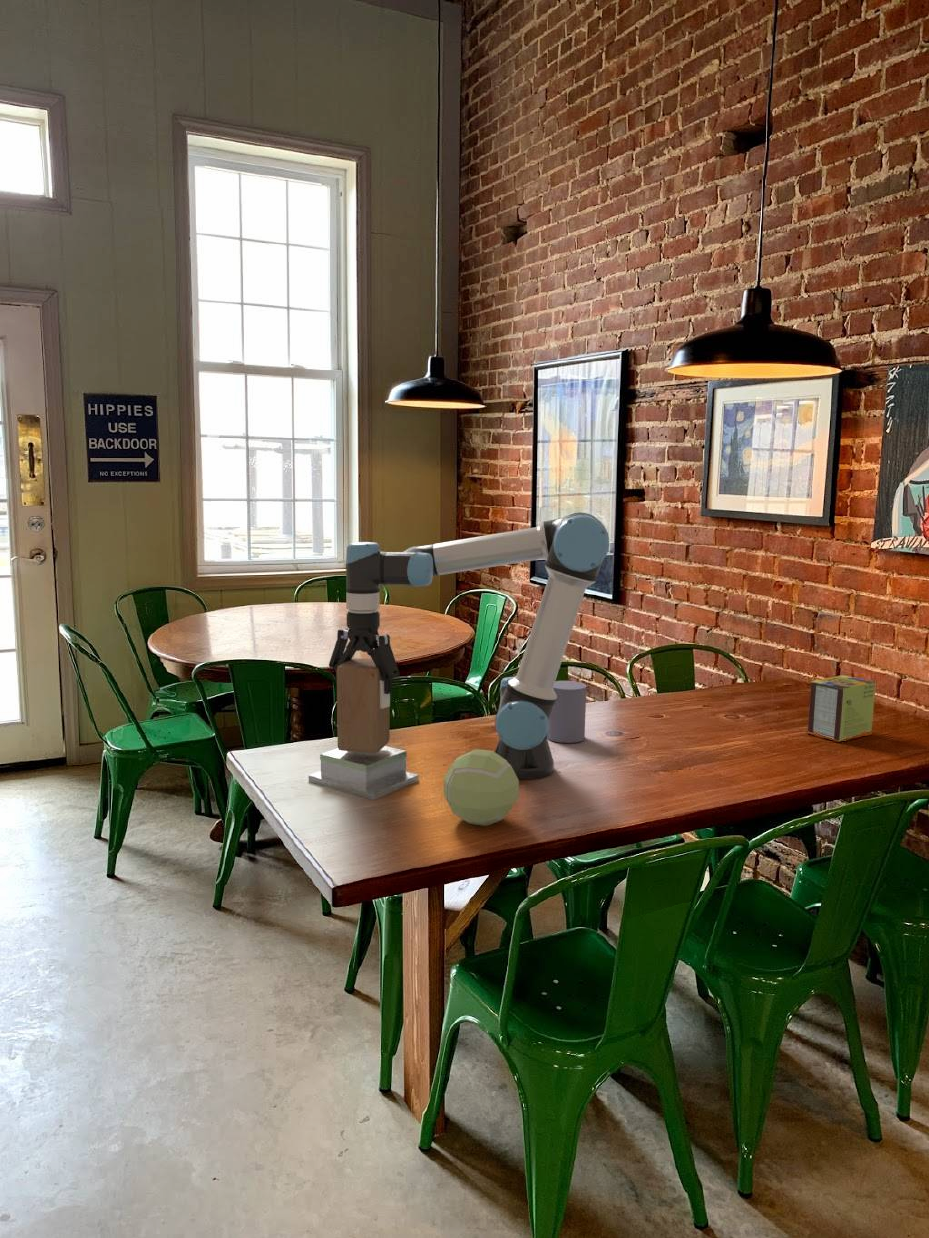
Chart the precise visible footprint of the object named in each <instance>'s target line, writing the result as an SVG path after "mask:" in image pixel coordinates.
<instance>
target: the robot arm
mask: <svg viewBox="0 0 929 1238" xmlns="http://www.w3.org/2000/svg"><path fill="white" fill-rule="evenodd" d="M609 549H610V537H609V533H608V531H607V528H606V526H605V525H604V524H603V522H601V520H600V519H598V518H597V517H595V516H594V515H592V514H590V513H587V512H573V513H570V514H567V515H565V516H563V517H557V518H555V519H552V520H546V521H545V520H544V521H542V522H540V524H539V526H536V527H529V528H523V529H517V530H511V531H504V532H499V533H494V534H493V533H492V534H488V535H486V534H485V535H480V536H475V537H467V538H463V539H456V540H450V541H444V542H439V543H434V544H433V543H432V544H426V545H421V546H420V545H415V546H410V547H407V548H406V549H405V550H404V551H395V552H394V551H393V552H392V551H389V552H388V551H383V550H382V551H381V548H380V544H379V543H378V542H374V541H373V542H371V541H357V542H356V541H355V542H350V543H349V544H348V545H347V546H346V554H345V556H346V557H345V558H346V560H345V571H346V572H345V574H346V575H345V579H346V593H345V594H346V597H345V598H346V601H345V602H346V606H345V608H346V610H348V611H346V628H342V629H338V630H337V633H336V634H337V637H336V642H335V644H334V648H333V650H332V653H331V657H330V659H329V662H328V667H329V668H332V669H334V672H335V683H336V685H337V668H338V666H340V665H341V664H343V663H345V662H346V661H348V660H350V659H352V658H354V655H355V654H356V653H357V652H363V653H367V655H368V656H370V658H371V659H372V660H373V662H374V664H375V665H376V667H378V668H379V670H380V675H381V676H382V679H381V680H380V708H381V709H383V708H386V707H389V706H390V707H391V694H392V693H393V679H396V678H399V677H400V675H401V674H400V671H399V668H398V665H397V662H396V657H395V655H394V653H393V650H392V647H391V639H390V638H391V637H390V635H389V634H388V633H387V634H383V635H382V634H380V633H379V631H378V630H379V628H380V626H381V625H380V623H381V621H380V620H381V617H380V616H381V615H380V614H381V613H380V612H379V609H380V601H381V600H380V594H381V593H380V586H404V587H406V586H407V587H415V588H418V587H427V586H430V585H431V584H432V582H433V579H434V577H436V576H443V575H449V574H454V573H455V574H456V573H461V572H467V571H474V570H475V571H476V570H480V569H481V570H482V569H486V568H487V569H488V568H494V567H499V566H507V565H513V564H518V563H525V562H526V563H527V562H532V561H537V560H539V561H540V560H545V564H544V568H545V570H546V572H547V574H548V579H547V581H546V585H545V586H544V591H543V594H542V597H541V600H540V602H539V605H538V609H537V612H536V615H535V618H534V621H533V624H532V628H531V631H530V633H529V636H528V639H527V643H526V646H525V650H524V652H523V655H522V659H521V661H520V665H519V667H518V670H517V674H516V675H515V676H507V677H503V678H502V679H501V681H500V687H499V691H500V692H499V693H500V695H499V696H500V697H499V698H500V700H499V706H498V710H497V713H496V716H495V719H494V723H495V724H494V725H495V729H496V732H497V736H498V742H497V745H496V747H495V750H494V752H495V753H497V754H498V755H499V756H501V757H502V758H504V759H505V760H507V762H508V763H509V764H510V765H511V766H512V768H513V770H514V772H515V774H516V776H517V778H518V780H535V779H542V778H546V777H549V776H550V775H552V774H553V773H554V769H555V768H554V767H555V762H554V761H555V760H554V757H553V755H552V752H551V748H550V745H549V741H548V740H549V739H548V738H547V733H548V729H549V728H548V726H549V720H550V717H551V713H552V710H553V707H554V704H555V701H556V698H557V695H556V693H555V691H554V689H553V686H554V683H555V681H557V676H558V674H559V672H560V671H559V670H560V668H561V665H562V661H563V658H564V656H565V652H566V649H567V646H568V643H569V640H570V638H571V635H572V632H573V629H574V625H575V622H576V620H577V617H578V614H579V610H580V607H581V604H582V601H583V598H584V595H585V592H586V589H587V588H588V587H589V586H592V585H593V584H595V583H596V582H597V578H598V575H599V573H600V569H601V566H602V563H603V561H605V558H606V557H607V554H608V553H609Z"/></svg>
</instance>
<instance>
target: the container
mask: <svg viewBox="0 0 929 1238" xmlns="http://www.w3.org/2000/svg"><path fill="white" fill-rule="evenodd" d="M553 689H554V691H555V693H556V695H557V698H556V701H555V704H554V707H553V710H552V713H551V717H550V720H549V726H548V728H549V729H548V733H547V740H550V741H552V742H554V743H559V744H576V743H580V742H582V741H584V740H585V735H586V734H585V733H586V709H587V708H586V707H587V703H586V702H587V684H585V683H584V682H579V681H574V680H555V683H554V686H553Z"/></svg>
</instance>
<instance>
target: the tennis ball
mask: <svg viewBox="0 0 929 1238" xmlns="http://www.w3.org/2000/svg"><path fill="white" fill-rule="evenodd" d="M519 782H520V779H518V778H517V776H516V774H515V772H514V770H513V768H512V766H511V765H510V764H509V763H508V762H507V760H505V759H504V758H502V757H501V756H499V755H498V754H497V753H495V750H490V749H489V750H487V749H477V748H476V749H473V750H470V751H469V752H466V753H464V754H462V755H460V756H457V758H456V759H455V760H454V761H453V762H452V764H451V765H450V766H449V769H448V771H447V772H446V774H445V776H444V778H443V796H444V798H445V800H446V802H447V805H448V806H449V807H450V810H451V812H452V814H453V815H455V816H456V817H459V818H460V819H462V820H463V821H465V822H466V823H467V824H469V825H476V826H484V827H488V826H491V825H492V824H495V823H497V822H499V821H502V820H503V819H504V818H505V817H507V816H508V814H509V812H510V811H511V810H512V807H514V805H515V803H516V802H517V800H518V799H519V785H520V784H519Z"/></svg>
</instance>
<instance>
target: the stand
mask: <svg viewBox="0 0 929 1238" xmlns="http://www.w3.org/2000/svg"><path fill="white" fill-rule="evenodd" d="M407 755H408V751H406V750H404V749H399V748H396V747H391V746H387V745H385V746H384V747H383V748H382V749H381V750H380V751H379V752H378V753H365V752H353V751H341V750H339V749H338V747H336V748H333V749H331V750H329V751H328V750H327V751H325V752H322V753H320V754H319V759H320V770H319V771H317V772H314V773H311V774H309V775H308V782H309V783H312V784H317V785H320V786H324V787H327V788H330V789H333V790H338V791H340V792H343V793H347V794H351V795H355V796H358V797H361V798H365V799H368V800H372V801H374V800H376V799H379V798H381V797H384V796H387V795H388V794H389V795H390V794H392V793H393V792H397V791H398V790H401V789H403V788H406V787H407V786H410V785H412V784H414V783H417V782H419V774H417V773H413V772H409V771H407Z"/></svg>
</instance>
